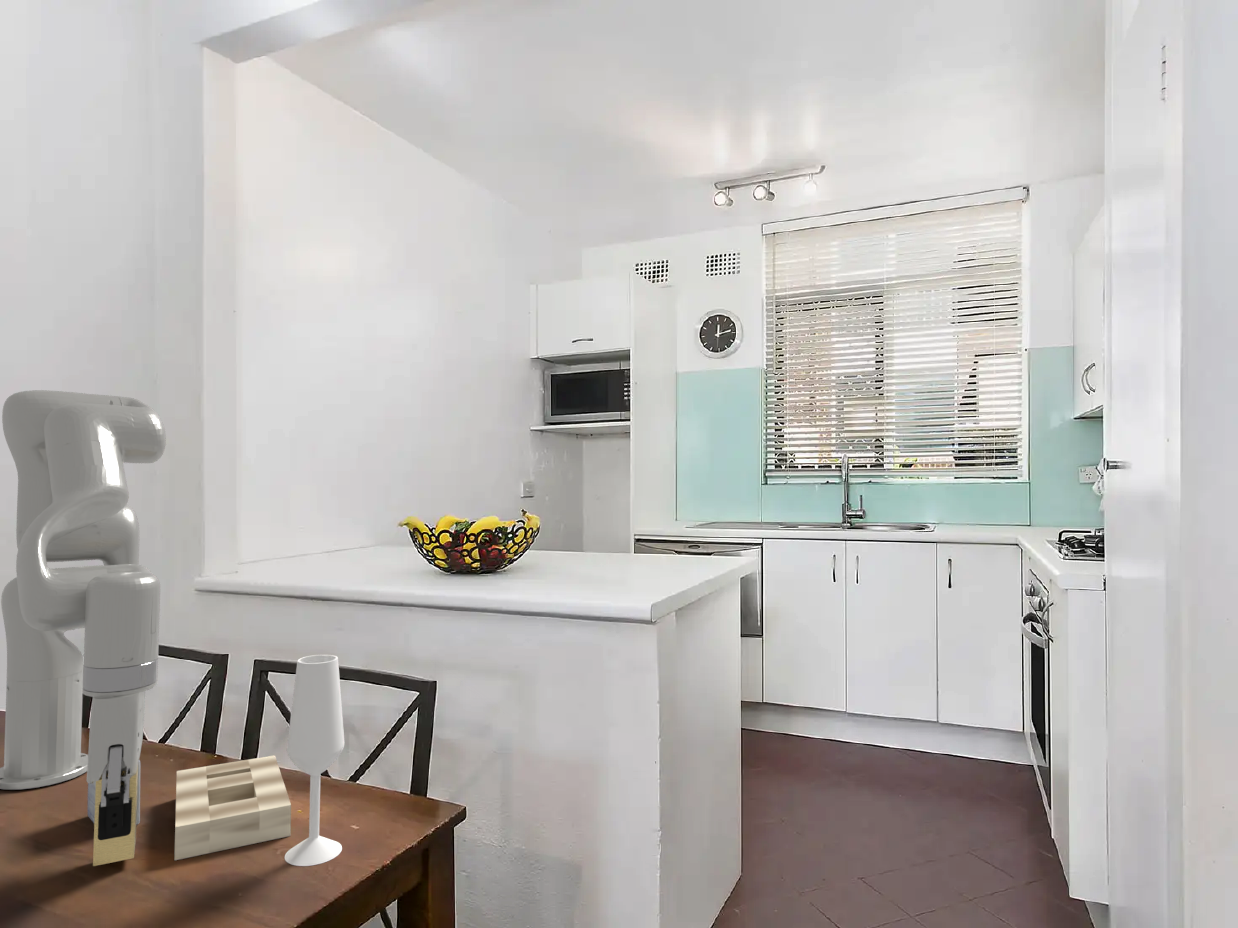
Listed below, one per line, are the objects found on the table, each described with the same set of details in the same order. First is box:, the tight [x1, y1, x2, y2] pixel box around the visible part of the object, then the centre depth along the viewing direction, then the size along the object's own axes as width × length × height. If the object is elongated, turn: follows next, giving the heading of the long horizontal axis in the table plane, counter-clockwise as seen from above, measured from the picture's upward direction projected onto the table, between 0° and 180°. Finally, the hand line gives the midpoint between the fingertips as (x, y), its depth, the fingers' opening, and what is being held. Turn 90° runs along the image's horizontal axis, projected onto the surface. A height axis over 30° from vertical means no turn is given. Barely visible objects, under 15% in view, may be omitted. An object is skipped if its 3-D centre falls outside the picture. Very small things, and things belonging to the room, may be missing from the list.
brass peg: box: [92, 767, 138, 867], centre depth 90 cm, size 4×4×10 cm
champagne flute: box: [284, 654, 345, 867], centre depth 93 cm, size 7×7×24 cm
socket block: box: [174, 755, 292, 861], centre depth 102 cm, size 20×13×4 cm, turn 30°
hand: (116, 826), depth 90 cm, fingers closed on brass peg, 4 cm apart
